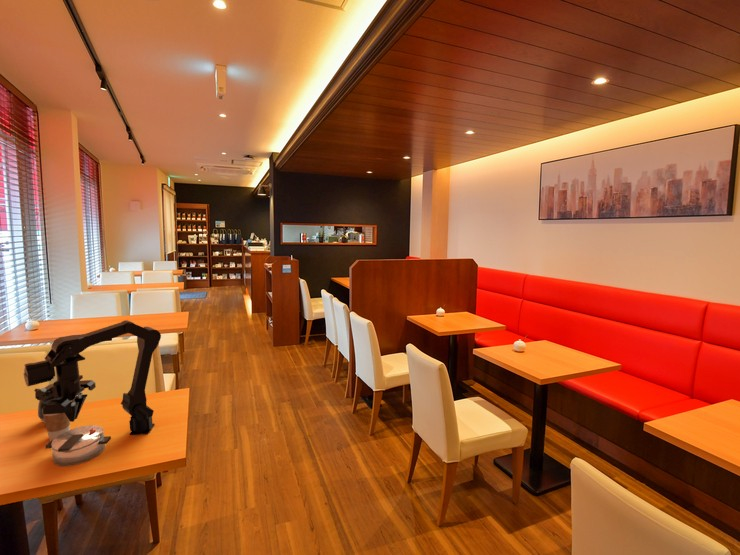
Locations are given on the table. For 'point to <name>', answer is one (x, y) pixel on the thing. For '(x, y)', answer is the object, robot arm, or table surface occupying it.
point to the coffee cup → (55, 421)
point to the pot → (79, 453)
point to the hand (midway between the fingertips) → (73, 420)
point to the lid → (77, 438)
